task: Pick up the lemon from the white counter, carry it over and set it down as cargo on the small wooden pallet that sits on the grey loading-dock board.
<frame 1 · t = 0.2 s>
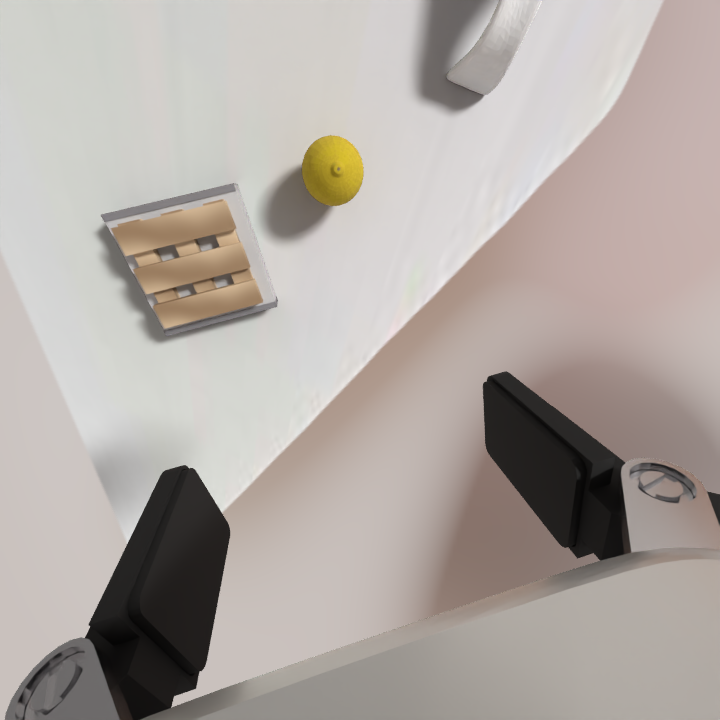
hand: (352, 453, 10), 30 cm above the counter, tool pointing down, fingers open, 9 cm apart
pallet: (197, 265, 32), resting on dock
lemon: (328, 175, 34), on the counter
dock: (203, 261, 35), on the counter
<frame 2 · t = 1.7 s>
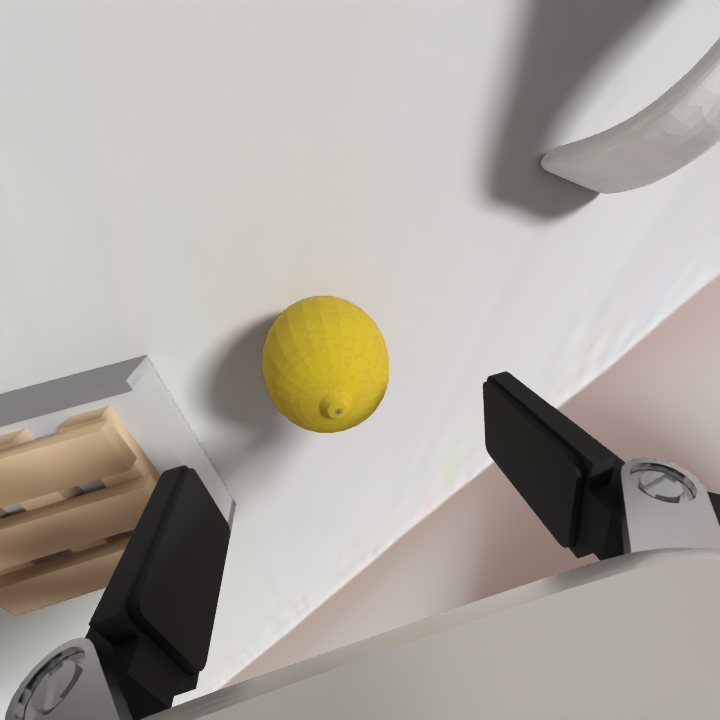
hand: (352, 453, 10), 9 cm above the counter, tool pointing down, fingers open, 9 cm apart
pallet: (73, 504, 17), resting on dock
lemon: (318, 326, 18), on the counter
dock: (97, 469, 20), on the counter
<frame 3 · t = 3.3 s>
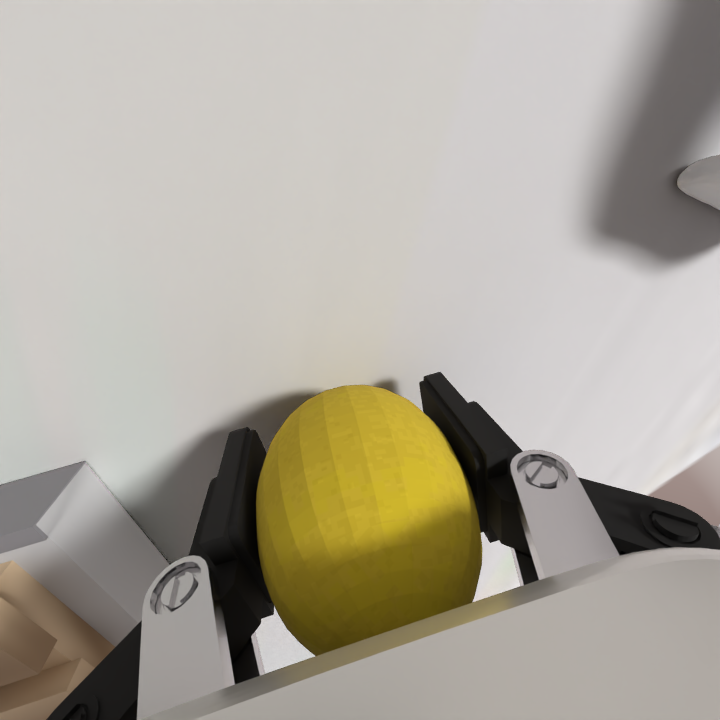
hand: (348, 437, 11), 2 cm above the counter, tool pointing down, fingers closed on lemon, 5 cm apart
lemon: (341, 409, 13), on the counter, touching gripper
dock: (24, 607, 14), on the counter
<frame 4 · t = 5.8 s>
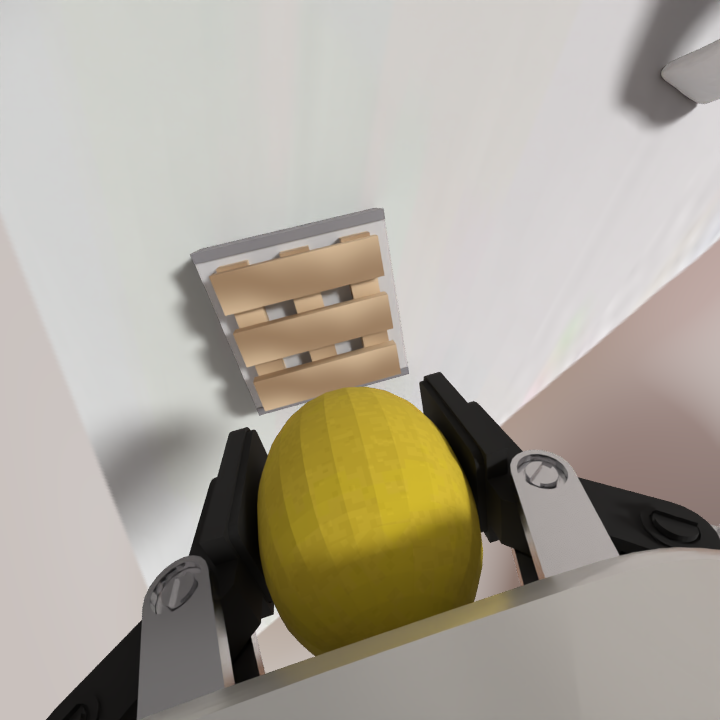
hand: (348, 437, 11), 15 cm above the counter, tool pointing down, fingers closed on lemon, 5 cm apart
pallet: (314, 322, 23), resting on dock
lemon: (342, 410, 13), point 14 cm above the counter, touching gripper
dock: (312, 311, 25), on the counter
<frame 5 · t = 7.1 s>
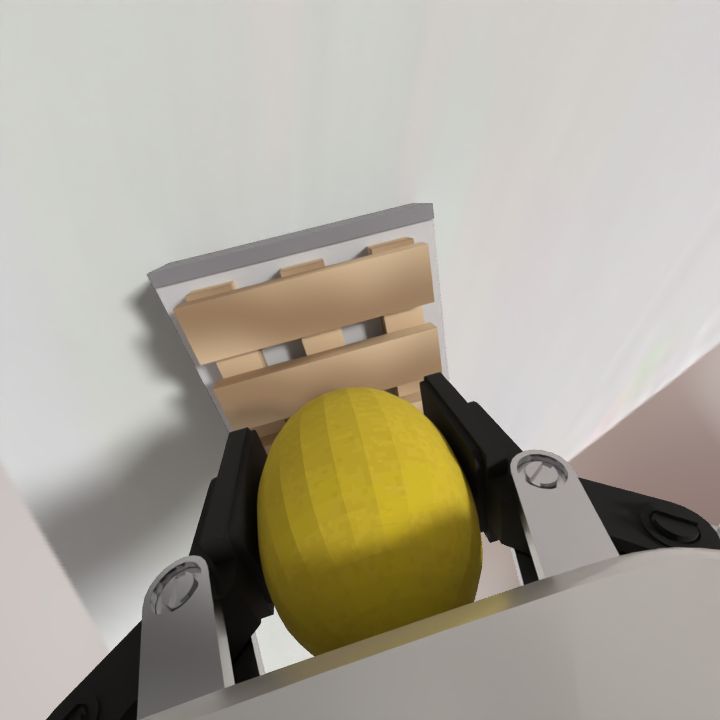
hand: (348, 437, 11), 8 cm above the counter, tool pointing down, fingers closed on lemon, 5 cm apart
pallet: (330, 363, 16), resting on dock
lemon: (342, 410, 13), point 7 cm above the counter, touching gripper
dock: (325, 344, 18), on the counter
when the fingers open (7 cm above the counter, at t = 8.1 s): lemon drops 1 cm, resting on pallet.
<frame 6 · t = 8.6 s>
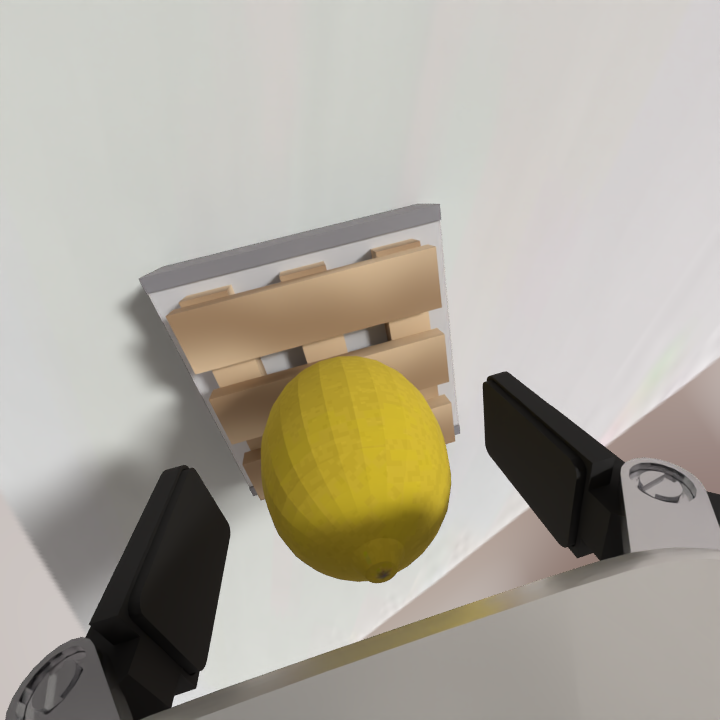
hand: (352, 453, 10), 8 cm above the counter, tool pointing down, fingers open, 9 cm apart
pallet: (332, 371, 16), resting on dock
lemon: (337, 385, 14), point 4 cm above the counter, touching pallet
dock: (327, 350, 18), on the counter
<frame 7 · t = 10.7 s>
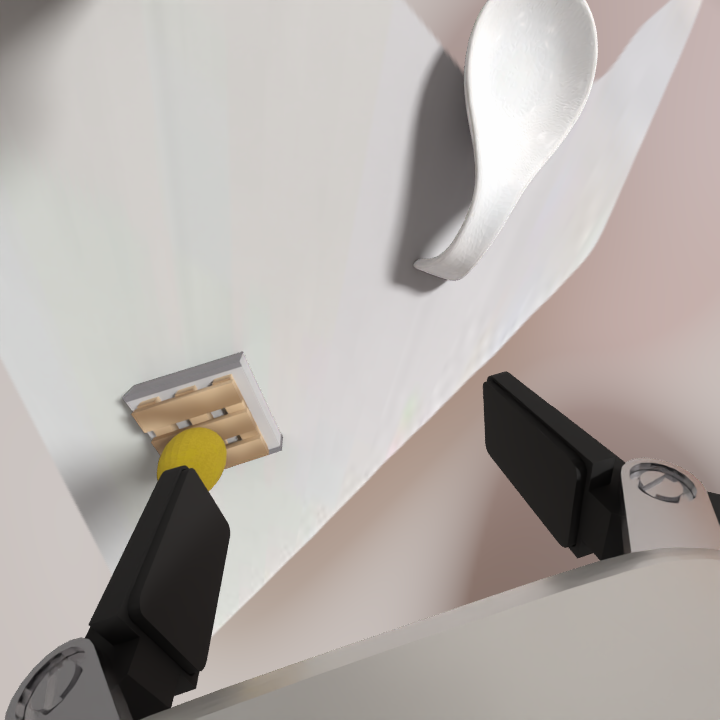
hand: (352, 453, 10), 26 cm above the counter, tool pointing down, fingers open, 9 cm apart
spoon rest: (477, 156, 32), on the counter
pallet: (208, 425, 35), resting on dock
lemon: (205, 433, 34), point 4 cm above the counter, touching pallet
dock: (214, 413, 38), on the counter
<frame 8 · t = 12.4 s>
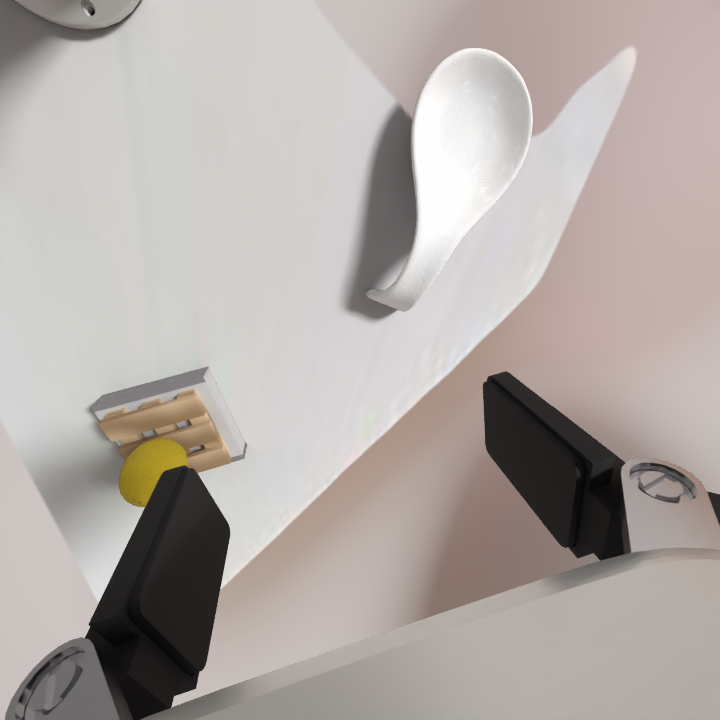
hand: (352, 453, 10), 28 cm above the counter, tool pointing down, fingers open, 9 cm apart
spoon rest: (428, 200, 35), on the counter
pallet: (173, 434, 38), resting on dock
lemon: (169, 442, 36), point 4 cm above the counter, touching pallet
dock: (180, 422, 40), on the counter
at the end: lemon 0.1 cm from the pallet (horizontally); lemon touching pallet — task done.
